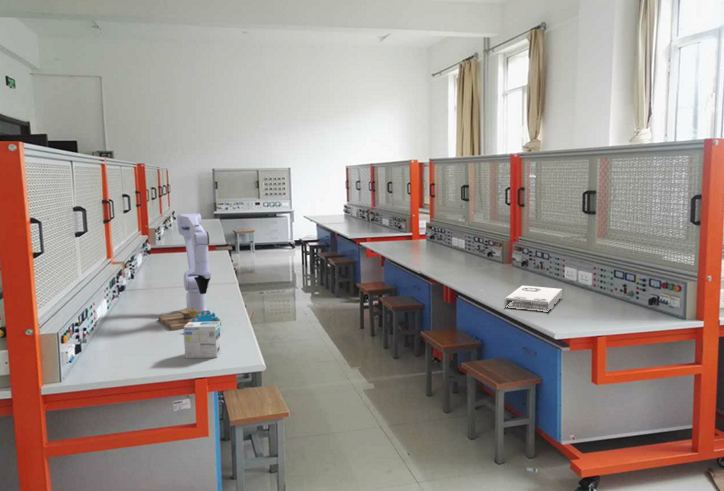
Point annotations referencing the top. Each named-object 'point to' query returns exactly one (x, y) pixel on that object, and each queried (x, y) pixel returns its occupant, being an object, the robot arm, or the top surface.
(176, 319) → the board
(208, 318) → the gear
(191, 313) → the lever handle
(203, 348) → the light bulb box
